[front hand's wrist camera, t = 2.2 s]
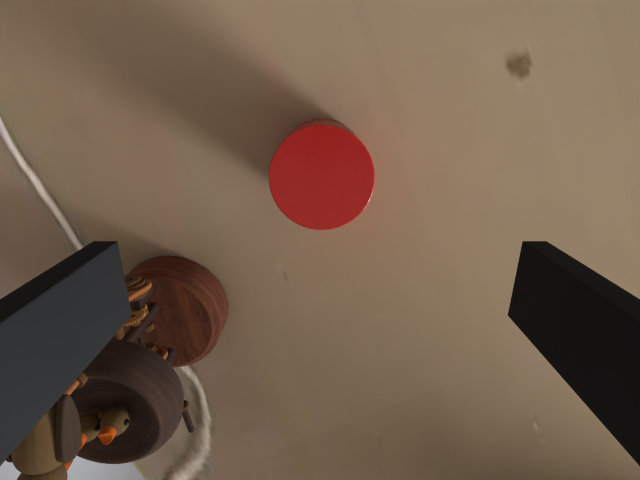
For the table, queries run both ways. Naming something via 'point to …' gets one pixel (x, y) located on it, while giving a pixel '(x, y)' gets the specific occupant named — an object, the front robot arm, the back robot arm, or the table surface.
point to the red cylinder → (321, 175)
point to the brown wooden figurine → (132, 375)
